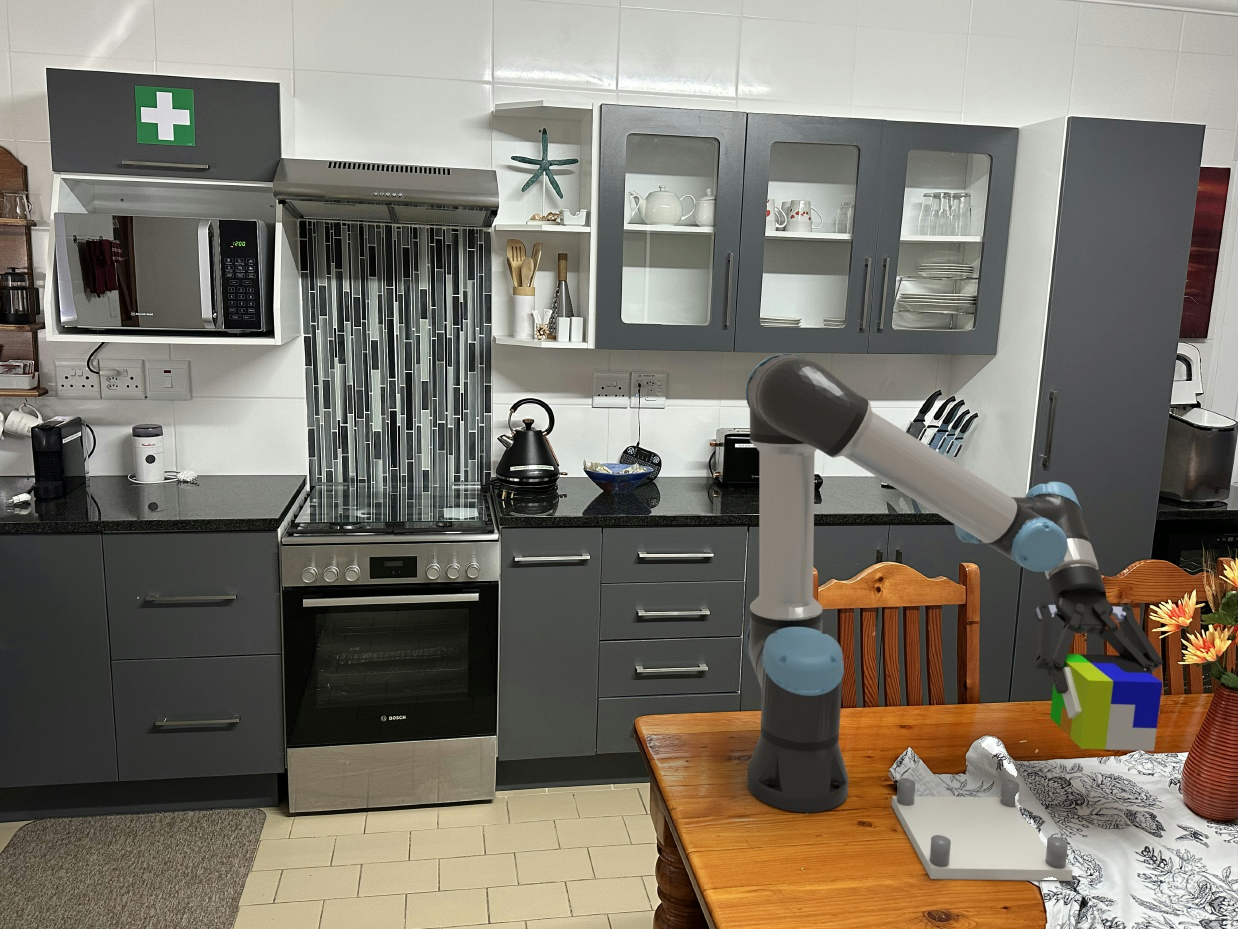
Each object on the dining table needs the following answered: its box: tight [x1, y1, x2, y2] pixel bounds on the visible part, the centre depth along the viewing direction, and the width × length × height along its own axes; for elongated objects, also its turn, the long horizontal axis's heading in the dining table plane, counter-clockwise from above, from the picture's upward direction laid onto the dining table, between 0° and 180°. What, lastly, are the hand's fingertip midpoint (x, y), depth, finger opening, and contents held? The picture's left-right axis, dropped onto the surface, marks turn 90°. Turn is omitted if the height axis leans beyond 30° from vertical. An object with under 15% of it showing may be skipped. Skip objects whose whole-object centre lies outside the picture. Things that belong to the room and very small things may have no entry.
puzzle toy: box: [1049, 653, 1163, 752], centre depth 135 cm, size 10×10×10 cm
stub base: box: [891, 777, 1073, 882], centre depth 130 cm, size 18×18×4 cm
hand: (1113, 715), depth 132 cm, fingers closed on puzzle toy, 10 cm apart
